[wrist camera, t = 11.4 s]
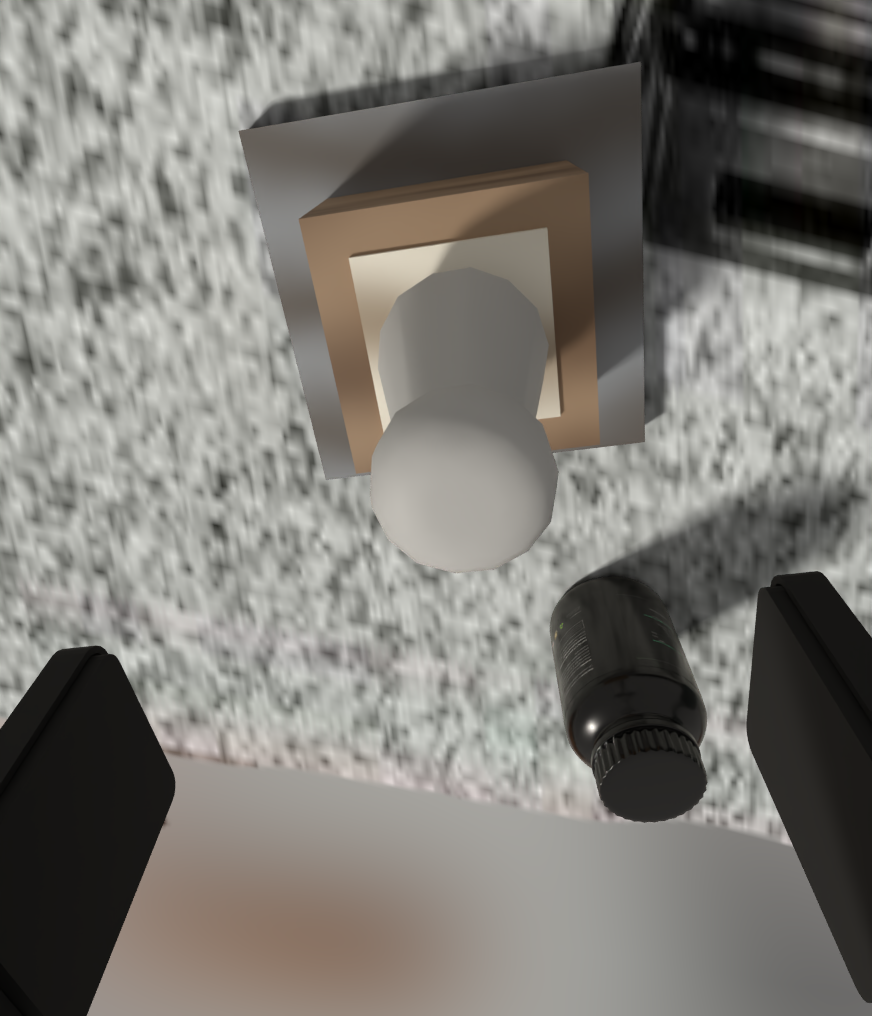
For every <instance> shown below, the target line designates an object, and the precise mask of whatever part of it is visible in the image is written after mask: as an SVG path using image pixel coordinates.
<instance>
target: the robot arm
mask: <svg viewBox="0 0 872 1016" xmlns="http://www.w3.org/2000/svg"><path fill="white" fill-rule="evenodd" d="M747 737H748V742H749V745H750V749H751V751H752V754H753V756H754V758H755V761H756V763H757V765H758V767H759V770H760V772H761V774H762V776H763V779H764V781H765V783H766V785H767V788H768V790H769V792H770V795H771V797H772V799H773V801H774V804H775V806H776V808H777V810H778V813H779V815H780V817H781V819H782V822H783V824H784V826H785V828H786V831H787V833H788V835H789V837H790V840H791V842H792V844H793V847H794V849H795V851H796V853H797V855H798V858H799V860H800V862H801V864H802V867H803V869H804V871H805V874H806V876H807V878H808V880H809V883H810V885H811V887H812V889H813V892H814V894H815V896H816V898H817V901H818V903H819V905H820V908H821V910H822V912H823V914H824V916H825V919H826V921H827V923H828V926H829V928H830V930H831V932H832V935H833V937H834V939H835V941H836V944H837V946H838V948H839V951H840V953H841V955H842V957H843V960H844V961H845V964H846V966H847V969H848V971H849V973H850V975H851V978H852V979H853V982H854V984H855V986H856V988H857V990H858V992H859V994H860V995H861V997H862V998H863V999H864V1000H865V1001H866V1002H867V1003H872V638H871V636H870V635H869V634H868V632H867V631H866V630H865V628H864V627H863V626H862V624H861V623H860V622H859V620H858V619H857V618H856V616H855V615H854V614H853V612H852V611H851V610H850V608H849V607H848V606H847V604H846V603H845V602H844V600H843V599H842V598H841V596H840V595H839V594H838V592H837V591H836V590H835V588H834V587H833V586H832V584H831V583H830V582H829V580H828V579H827V578H826V577H825V576H824V575H823V574H822V573H821V572H818V571H815V572H806V573H796V574H786V575H777V576H775V577H774V578H773V579H772V581H771V586H770V587H764V588H761V589H760V590H759V593H758V601H757V612H756V623H755V635H754V646H753V657H752V668H751V679H750V691H749V702H748V713H747ZM174 793H175V777H174V774H173V771H172V769H171V767H170V765H169V763H168V761H167V759H166V757H165V755H164V752H163V750H162V748H161V746H160V744H159V742H158V740H157V738H156V736H155V734H154V732H153V730H152V728H151V726H150V724H149V722H148V719H147V717H146V715H145V713H144V711H143V709H142V707H141V705H140V703H139V701H138V699H137V697H136V695H135V693H134V691H133V688H132V686H131V684H130V682H129V680H128V678H127V676H126V674H125V672H124V670H123V668H122V666H121V664H120V662H119V660H118V658H117V657H116V656H115V655H113V654H108V653H107V651H106V650H105V649H104V648H102V647H101V646H88V647H79V648H69V649H62V650H59V651H57V652H56V653H55V654H54V655H53V656H52V657H51V659H50V660H49V661H48V663H47V664H46V666H45V667H44V668H43V670H42V671H41V673H40V674H39V676H38V677H37V678H36V680H35V681H34V683H33V684H32V685H31V687H30V688H29V690H28V691H27V692H26V694H25V695H24V697H23V698H22V699H21V701H20V702H19V704H18V705H17V706H16V708H15V709H14V711H13V712H12V713H11V715H10V716H9V718H8V719H7V720H6V722H5V723H4V725H3V726H2V728H1V729H0V1016H87V1013H88V1011H89V1008H90V1006H91V1003H92V1001H93V998H94V996H95V993H96V991H97V988H98V986H99V983H100V981H101V978H102V976H103V973H104V971H105V968H106V965H107V963H108V961H109V958H110V956H111V953H112V951H113V948H114V946H115V943H116V941H117V938H118V936H119V933H120V931H121V928H122V925H123V923H124V921H125V918H126V916H127V913H128V911H129V908H130V905H131V903H132V901H133V898H134V896H135V893H136V891H137V888H138V885H139V883H140V881H141V878H142V876H143V873H144V871H145V868H146V866H147V863H148V861H149V858H150V855H151V853H152V850H153V848H154V846H155V843H156V841H157V838H158V835H159V833H160V830H161V828H162V826H163V823H164V821H165V818H166V815H167V813H168V811H169V808H170V806H171V803H172V800H173V797H174Z"/></svg>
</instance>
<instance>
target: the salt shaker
mask: <svg viewBox="0 0 872 1016" xmlns="http://www.w3.org/2000/svg"><path fill="white" fill-rule="evenodd" d="M548 347H549V344H548V341H547V338H546V335H545V331H544V328H543V325H542V322H541V319H540V316H539V313H538V309H537V308H536V307H535V306H534V305H533V304H532V303H531V302H530V301H529V300H528V299H527V298H526V297H525V296H524V295H523V294H522V293H521V292H520V291H519V290H518V289H517V288H516V287H515V286H514V285H513V284H512V283H511V282H510V281H509V280H507V279H504V278H501V277H498V276H495V275H492V274H489V273H487V272H484V271H481V270H478V269H475V268H472V267H468V268H462V269H456V270H450V271H445V272H439V273H433V274H431V275H429V276H428V277H426V278H425V279H423V280H422V281H420V282H419V283H417V284H416V285H414V286H413V287H411V288H410V289H408V290H407V291H405V292H404V293H402V294H401V295H399V296H398V297H397V299H396V301H395V303H394V305H393V307H392V309H391V311H390V313H389V315H388V317H387V319H386V320H385V322H384V324H383V326H382V328H381V330H380V341H379V358H378V371H379V375H380V379H381V383H382V387H383V391H384V395H385V400H386V404H387V408H388V412H389V416H390V420H391V421H390V423H389V425H388V426H387V428H386V430H385V432H384V433H383V435H382V437H381V439H380V440H379V442H378V444H377V446H376V448H375V450H374V453H373V455H372V464H371V485H370V497H371V505H372V509H373V511H374V513H375V515H376V517H377V518H378V520H379V522H380V524H381V526H382V528H383V530H384V532H385V534H386V536H387V538H388V540H389V541H391V542H392V543H393V544H394V545H396V546H397V547H398V548H399V549H401V550H402V551H403V552H404V553H406V554H407V555H408V556H409V557H410V558H412V559H413V560H414V561H415V562H417V563H419V564H422V565H426V566H430V567H434V568H438V569H441V570H445V571H449V572H453V573H462V572H473V571H483V570H494V569H496V568H498V567H500V566H501V565H503V564H505V563H507V562H509V561H511V560H512V559H514V558H516V557H518V556H520V555H522V554H523V553H525V552H527V551H528V550H529V549H530V548H531V546H532V545H533V544H534V543H535V541H536V540H537V539H538V538H539V536H540V535H541V534H542V533H543V531H544V530H545V529H546V527H547V526H548V525H549V524H550V522H551V518H552V512H553V506H554V500H555V494H556V488H557V480H558V473H559V471H558V468H557V465H556V462H555V459H554V456H553V453H552V450H551V447H550V444H549V441H548V438H547V435H546V432H545V430H544V427H543V424H542V423H541V422H540V421H538V420H537V419H536V415H537V410H538V405H539V400H540V395H541V390H542V385H543V380H544V373H545V367H546V360H547V354H548Z"/></svg>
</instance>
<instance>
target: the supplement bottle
mask: <svg viewBox="0 0 872 1016" xmlns="http://www.w3.org/2000/svg"><path fill="white" fill-rule="evenodd" d="M550 636H551V644H552V651H553V657H554V663H555V669H556V676H557V682H558V688H559V694H560V701H561V707H562V713H563V719H564V725H565V730H566V735H567V738H568V741H569V744H570V746H571V748H572V749H573V751H574V752H575V753H576V755H577V756H578V757H579V758H580V759H581V760H582V761H583V762H584V763H585V764H586V765H588V766H589V767H590V768H592V771H593V774H594V777H595V779H596V784H597V788H598V792H599V796H600V799H601V800H602V801H603V804H604V806H606V807H608V808H609V811H611V812H613V813H615V814H616V815H617V816H620V817H623V818H624V819H628V820H632V821H640V822H644V823H645V822H658V821H666V820H668V819H672V818H676V817H677V816H679V815H682V814H684V813H685V812H686V811H688V810H691V809H692V808H693V806H695V805H696V804H698V802H699V800H700V799H701V798H702V797H703V793H704V792H705V791H706V785H707V778H706V771H705V768H704V765H703V762H702V760H701V754H700V750H699V746H700V745H701V743H702V741H703V738H704V735H705V732H706V727H707V713H706V709H705V705H704V702H703V699H702V697H701V694H700V691H699V689H698V686H697V684H696V681H695V679H694V676H693V674H692V671H691V669H690V666H689V664H688V661H687V659H686V656H685V654H684V651H683V649H682V646H681V644H680V641H679V639H678V636H677V633H676V631H675V628H674V626H673V623H672V621H671V618H670V616H669V614H668V611H667V609H666V607H665V605H664V603H663V601H662V600H661V598H660V597H659V596H658V595H657V593H656V592H654V591H653V590H652V589H651V588H650V587H648V586H647V585H645V584H643V583H641V582H639V581H637V580H634V579H630V578H626V577H619V576H607V577H599V578H595V579H591V580H588V581H586V582H583V583H581V584H579V585H577V586H576V587H574V588H572V589H571V590H570V591H569V592H567V593H566V594H565V595H564V596H563V597H562V598H561V600H560V601H559V602H558V604H557V605H556V607H555V609H554V611H553V614H552V617H551V621H550Z"/></svg>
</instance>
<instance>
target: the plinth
mask: <svg viewBox="0 0 872 1016" xmlns="http://www.w3.org/2000/svg"><path fill="white" fill-rule="evenodd" d="M239 134H240V138H241V142H242V146H243V150H244V154H245V158H246V162H247V166H248V170H249V174H250V178H251V182H252V186H253V190H254V194H255V198H256V202H257V206H258V210H259V214H260V218H261V222H262V226H263V230H264V234H265V238H266V242H267V246H268V250H269V254H270V258H271V262H272V266H273V270H274V274H275V278H276V282H277V286H278V290H279V294H280V298H281V302H282V306H283V310H284V314H285V318H286V322H287V326H288V330H289V334H290V338H291V342H292V346H293V350H294V354H295V358H296V362H297V366H298V370H299V374H300V378H301V382H302V386H303V390H304V394H305V398H306V402H307V406H308V410H309V414H310V418H311V422H312V426H313V430H314V434H315V438H316V442H317V446H318V450H319V454H320V458H321V462H322V466H323V470H324V474H325V478H326V480H329V479H338V478H346V477H354V476H363V475H371V464H372V455H373V453H374V450H375V448H376V446H377V444H378V442H379V440H380V439H381V437H382V435H383V433H384V432H385V430H386V428H387V426H388V425H389V423H390V421H391V420H390V416H389V412H388V408H387V404H386V400H385V395H384V391H383V387H382V383H381V379H380V375H379V371H378V358H379V341H380V330H381V328H382V326H383V324H384V322H385V320H386V319H387V317H388V315H389V313H390V311H391V309H392V307H393V305H394V303H395V301H396V299H397V297H398V296H399V295H401V294H402V293H404V292H405V291H407V290H408V289H410V288H411V287H413V286H414V285H416V284H417V283H419V282H420V281H422V280H423V279H425V278H426V277H428V276H429V275H431V274H433V273H439V272H445V271H450V270H456V269H462V268H468V267H472V268H475V269H478V270H481V271H484V272H487V273H489V274H492V275H495V276H498V277H501V278H504V279H507V280H509V281H510V282H511V283H512V284H513V285H514V286H515V287H516V288H517V289H518V290H519V291H520V292H521V293H522V294H523V295H524V296H525V297H526V298H527V299H528V300H529V301H530V302H531V303H532V304H533V305H534V306H535V307H536V308H537V309H538V313H539V316H540V319H541V322H542V325H543V328H544V331H545V335H546V338H547V341H548V344H549V347H548V354H547V360H546V367H545V373H544V380H543V385H542V390H541V395H540V400H539V405H538V410H537V415H536V419H537V420H538V421H540V422H541V423H542V424H543V427H544V430H545V432H546V435H547V438H548V441H549V444H550V447H551V450H552V453H556V452H564V451H572V450H581V449H589V448H598V447H606V446H614V445H623V444H631V443H640V442H645V417H644V320H643V223H642V126H641V62H636V63H630V64H624V65H618V66H612V67H607V68H601V69H595V70H589V71H583V72H578V73H572V74H566V75H560V76H554V77H549V78H543V79H537V80H531V81H525V82H520V83H514V84H508V85H502V86H496V87H491V88H485V89H479V90H473V91H467V92H462V93H456V94H450V95H444V96H438V97H433V98H427V99H421V100H415V101H409V102H404V103H398V104H392V105H386V106H380V107H375V108H369V109H363V110H357V111H351V112H346V113H340V114H334V115H328V116H322V117H317V118H311V119H305V120H299V121H293V122H288V123H282V124H276V125H270V126H264V127H259V128H253V129H247V130H241V131H239Z"/></svg>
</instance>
